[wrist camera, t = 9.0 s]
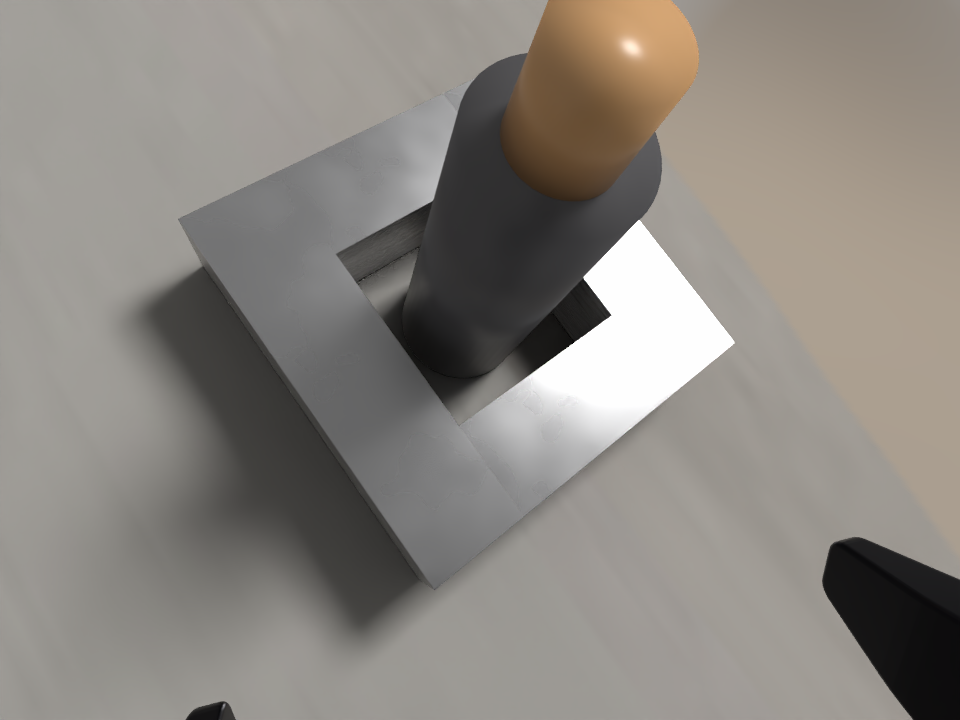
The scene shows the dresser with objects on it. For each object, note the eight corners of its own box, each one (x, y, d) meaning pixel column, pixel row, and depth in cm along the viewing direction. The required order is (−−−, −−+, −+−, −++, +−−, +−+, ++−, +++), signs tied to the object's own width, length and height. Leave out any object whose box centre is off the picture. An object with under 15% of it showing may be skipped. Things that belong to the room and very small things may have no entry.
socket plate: (683, 366, 22) (734, 342, 19) (419, 579, 18) (434, 589, 15) (492, 117, 23) (513, 60, 20) (202, 265, 19) (177, 218, 16)
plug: (538, 337, 21) (795, 90, 9) (447, 400, 19) (611, 205, 8) (471, 248, 21) (634, -103, 9) (378, 304, 20) (432, -23, 8)
